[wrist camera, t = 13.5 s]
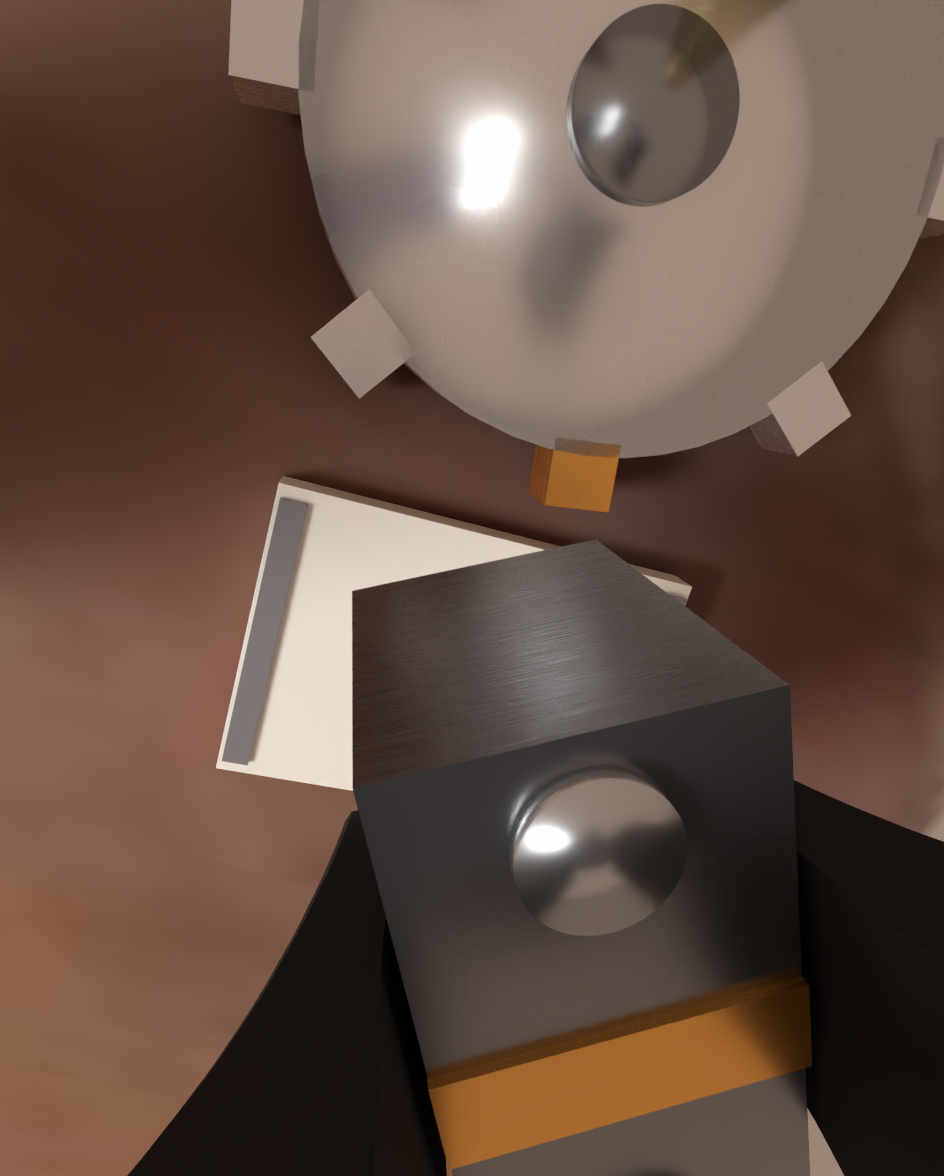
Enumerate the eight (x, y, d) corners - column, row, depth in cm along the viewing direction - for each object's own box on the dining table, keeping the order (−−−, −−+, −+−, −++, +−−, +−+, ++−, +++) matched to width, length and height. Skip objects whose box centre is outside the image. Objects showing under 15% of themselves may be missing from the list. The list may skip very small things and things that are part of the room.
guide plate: (222, 747, 19) (214, 771, 18) (282, 475, 17) (278, 483, 16) (589, 810, 21) (603, 835, 20) (675, 575, 19) (694, 588, 18)
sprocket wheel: (225, 458, 16) (178, 496, 12) (267, -472, 12) (219, -941, 8) (843, 528, 18) (990, 579, 14) (1047, -211, 14) (1336, -446, 10)
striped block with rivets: (351, 590, 10) (350, 807, 5) (596, 539, 11) (809, 697, 6) (443, 981, 13) (503, 1389, 8) (644, 928, 13) (827, 1287, 8)
